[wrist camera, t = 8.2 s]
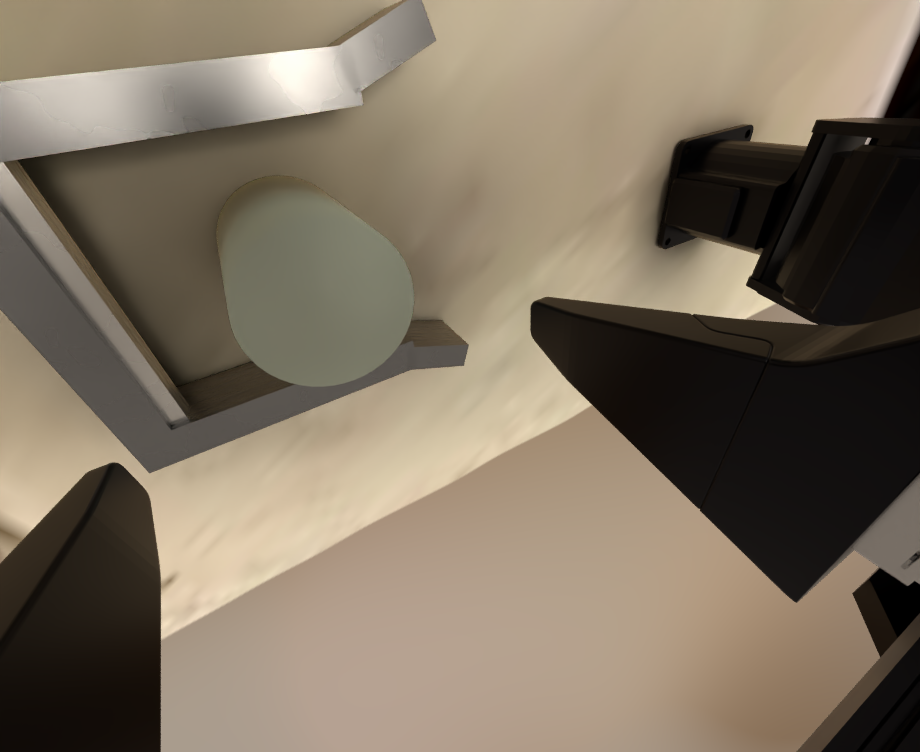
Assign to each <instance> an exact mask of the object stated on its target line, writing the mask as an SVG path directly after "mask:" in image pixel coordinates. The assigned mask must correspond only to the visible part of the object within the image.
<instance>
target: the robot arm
mask: <svg viewBox="0 0 920 752" xmlns="http://www.w3.org/2000/svg"><path fill="white" fill-rule="evenodd" d="M812 132H813V134H812V137H811V139H810V141H809V144H808V146H797V145H786V144H774V143H762V142H751V141H750V140H751V136H752V133H753V126H752V125H740V126H736V127H732V128H728V129H724V130H721V131H717V132H713V133H709V134H705V135H701V136H697V137H693V138H689V139H685V140H683V141H681V142H680V144H679V145H678V147H677V150H676V154H675V159H674V164H673V169H672V174H671V179H670V184H669V189H668V194H667V199H666V203H665V208H664V213H663V218H662V223H661V228H660V233H659V238H658V247H660V248H663V249H667V248H670V247H673V246H675V245H678V244H681V243H683V242H686V241H689V240H691V239H694V238H697V237H699V238H702V239H706V240H709V241H713V242H716V243H720V244H723V245H727V246H730V247H734V248H737V249H741V250H744V251H748V252H751V253H755V254H758V255H760V257H759V260H758V262H757V264H756V267H755V269H754V271H753V273H752V276H750V277H749V279H748V281H747V283H746V286H748V287H750V288H751V289H753V290H755V291H757V293H758V294H760V295H762V296H764V297H766V298H768V299H770V300H771V301H773V302H775V303H777V304H779V305H781V306H783V307H785V308H786V309H788V310H790V311H792V312H794V313H796V314H798V315H800V316H801V317H803V318H805V319H807V320H809V321H811V322H813V323H816V324H818V325H810V324H796V323H782V322H769V321H756V320H744V319H733V318H724V317H714V316H706V315H697V314H693V315H691V314H688V313H680V312H671V311H663V310H654V309H646V308H637V307H629V306H621V305H612V304H604V303H595V302H587V301H578V300H570V299H561V298H553V297H544V298H542V299H539V300H537V301H534V302H533V303H532V305H531V328H530V330H531V335H532V337H533V339H534V341H535V342H536V343H537V344H538V346H539V347H540V348H541V349H542V350H543V352H544V353H545V354H546V355H547V356H548V358H549V359H550V360H551V361H552V363H553V364H554V365H555V366H556V367H557V369H558V370H559V371H560V372H561V374H562V375H563V376H564V377H565V378H566V379H567V380H568V381H569V382H570V383H571V384H572V386H573V387H575V388H576V389H577V390H578V391H579V392H580V393H581V394H582V395H583V396H584V397H585V398H586V399H587V400H588V401H589V402H590V403H591V404H592V405H593V406H594V407H595V408H596V409H597V410H598V411H599V412H600V413H601V414H602V415H603V416H604V417H605V418H606V419H607V420H608V421H610V423H611V424H612V425H613V426H615V428H617V429H618V430H619V432H620V433H622V434H623V435H624V436H625V437H626V438H627V439H628V440H629V441H630V442H631V443H632V444H633V445H634V446H635V447H636V448H637V449H638V450H639V451H640V452H641V453H642V454H643V455H644V456H645V457H646V458H647V459H648V460H649V461H650V462H651V463H652V464H653V465H654V466H655V467H656V468H657V469H658V470H659V471H660V472H662V474H664V475H665V477H666V478H668V479H669V480H670V481H671V482H672V483H673V484H674V485H675V486H676V487H677V488H678V489H679V490H680V491H681V492H682V493H683V494H684V495H685V496H686V497H687V498H688V499H689V500H690V501H691V502H692V503H693V504H694V505H695V506H696V507H697V508H699V509H700V511H701V512H702V513H703V514H704V515H705V516H706V517H707V518H708V519H709V520H710V521H711V522H712V523H713V524H714V525H715V526H716V527H717V528H718V529H719V530H720V531H721V532H722V533H723V534H724V535H725V536H727V538H729V539H730V540H731V541H732V542H733V543H734V544H735V545H736V546H737V547H738V548H739V549H740V550H741V551H742V552H743V553H744V554H745V555H746V556H747V557H748V558H749V559H750V560H751V561H752V562H753V563H754V564H755V565H756V566H757V567H758V568H759V569H760V570H761V571H762V572H763V573H764V574H765V575H766V576H767V577H768V578H769V579H770V580H771V581H772V582H773V583H774V584H775V585H776V586H778V587H779V588H780V589H781V590H782V591H783V592H784V593H785V594H786V595H787V596H788V597H789V598H791V599H792V600H793V601H794V602H796V603H797V602H798V601H799V600H800V599H802V598H803V597H804V596H805V595H806V594H807V593H808V592H809V591H810V590H811V589H812V588H813V587H815V586H816V585H817V584H818V583H819V582H820V581H821V580H822V579H823V578H824V577H825V576H827V575H828V574H829V573H830V572H831V571H832V570H833V569H834V568H835V567H836V566H837V565H838V564H839V563H841V562H842V561H843V560H844V559H845V558H846V557H847V556H848V555H849V554H850V553H851V552H853V551H854V550H855V551H856V552H858V553H859V554H860V555H862V556H863V557H865V558H866V559H868V560H869V561H871V562H872V563H874V564H875V565H876V566H878V567H879V568H878V569H877V570H876V571H875V572H874V573H873V574H872V575H871V576H870V577H869V578H868V579H867V580H866V581H865V582H864V583H863V584H862V585H861V586H860V587H859V588H857V589H856V590H855V592H853V596H854V598H855V600H856V602H857V605H858V607H859V609H860V612H861V614H862V616H863V619H864V621H865V623H866V625H867V628H868V630H869V632H870V634H871V637H872V639H873V642H874V644H875V646H876V649H877V651H878V653H879V655H880V659H879V660H878V661H877V662H876V663H875V664H874V665H873V666H872V668H871V669H870V670H869V671H868V672H867V673H866V674H865V675H864V677H863V678H862V679H861V680H860V681H859V682H858V683H857V684H856V686H855V687H854V688H853V689H852V690H851V691H850V692H849V693H848V695H847V696H846V697H845V698H844V699H843V700H842V701H841V702H840V704H839V705H838V706H837V707H836V708H835V709H834V710H833V711H832V713H831V714H830V715H829V716H828V717H827V718H826V719H825V720H824V722H823V723H822V724H821V725H820V726H819V727H818V728H817V729H816V730H815V732H814V733H813V734H812V735H811V736H810V737H809V738H808V739H807V741H806V742H805V743H804V744H803V745H802V746H801V747H800V748H799V750H798V751H797V752H920V119H900V118H843V119H822V120H816V122H815V125H814V127H813V129H812ZM868 137H869V138H872V139H871V141H870V143H869V145H864V144H865V142H866V140H867V138H868ZM160 745H161V575H160V564H159V556H158V549H157V543H156V536H155V529H154V522H153V515H152V508H151V502H150V498H149V495H148V493H147V491H146V490H145V489H144V488H143V486H142V485H141V484H140V483H139V482H138V481H137V480H136V479H135V478H134V477H133V476H132V475H131V474H130V473H129V472H128V471H127V470H126V469H125V468H124V467H123V466H122V465H120V464H119V463H109V464H107V465H104V466H102V467H99V468H96V469H94V470H91V471H89V472H87V473H86V474H85V475H84V476H83V477H82V478H81V479H80V480H79V481H78V482H77V483H76V484H75V486H74V487H73V488H72V489H71V490H70V491H69V492H68V493H67V494H66V495H65V496H64V497H63V498H62V499H61V500H60V501H59V502H58V503H57V504H56V505H55V507H54V508H53V509H52V510H51V511H50V512H49V513H48V514H47V515H46V516H45V517H44V518H43V519H42V520H41V521H40V522H39V523H38V524H37V525H36V527H35V528H34V529H33V530H32V531H31V532H30V533H29V534H28V535H27V536H26V537H25V538H24V539H23V540H22V541H21V542H20V543H19V544H18V545H17V547H16V548H15V549H14V550H13V551H12V552H11V553H10V554H9V555H8V556H7V557H6V558H5V559H4V560H3V561H2V562H1V563H0V752H161V746H160Z"/></svg>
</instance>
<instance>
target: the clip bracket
mask: <svg viewBox="0 0 920 752" xmlns="http://www.w3.org/2000/svg"><path fill="white" fill-rule="evenodd" d="M435 41H436V38H435V35H434V33H433V30H432V27H431V25H430V22H429V19H428V16H427V14H426V11H425V8H424V5H423V3H422V0H402V1H400V2H398V3H395V4H393V5H391V6H389V7H386V8H384V9H383V10H381V11H380V12H378V13H377V14H375V15H374V16H372V17H371V18H369V19H368V20H366V21H365V22H363V23H362V24H360V25H359V26H357V27H355V28H354V29H352V30H351V31H349V32H348V33H346V34H345V35H343V36H342V37H340V38H339V39H337V40H336V41H334V42H333V43H331V44H330V45H328V46H327V47H323V48H314V49H304V50H295V51H285V52H276V53H266V54H257V55H248V56H238V57H229V58H219V59H210V60H200V61H191V62H181V63H172V64H163V65H153V66H144V67H134V68H125V69H115V70H106V71H97V72H87V73H78V74H68V75H59V76H49V77H40V78H30V79H21V80H12V81H2V82H0V309H1V311H2V312H3V313H4V314H5V315H6V316H7V317H8V318H9V319H10V320H11V322H12V323H13V324H14V325H15V326H16V327H17V328H18V329H19V330H20V331H21V333H22V334H23V335H24V336H25V337H26V338H27V339H28V340H29V341H30V342H31V344H32V345H33V346H34V347H35V348H36V349H37V350H38V351H39V352H40V353H41V355H42V356H43V357H44V358H45V359H46V360H47V361H48V362H49V363H50V364H51V366H52V367H53V368H54V369H55V370H56V371H57V372H58V373H59V374H60V375H61V377H62V378H63V379H64V380H65V381H66V382H67V383H68V384H69V385H70V386H71V388H72V389H73V390H74V391H75V392H76V393H77V394H78V395H79V396H80V397H81V398H82V400H83V401H84V402H85V403H86V404H87V405H88V406H89V407H90V408H91V409H92V411H93V412H94V413H95V414H96V415H97V416H98V417H99V418H100V419H101V420H102V422H103V423H104V424H105V425H106V426H107V427H108V428H109V429H110V430H111V431H112V433H113V434H114V435H115V436H116V437H117V438H118V439H119V440H120V441H121V442H122V444H123V445H124V446H125V447H126V448H127V449H128V450H129V451H130V452H131V453H132V455H133V456H134V457H135V458H136V459H137V460H138V461H139V462H140V463H141V464H142V466H143V467H144V468H145V469H146V470H147V471H148V472H149V473H151V472H154V471H156V470H159V469H161V468H164V467H166V466H169V465H172V464H174V463H177V462H179V461H182V460H184V459H187V458H189V457H192V456H194V455H197V454H199V453H202V452H204V451H207V450H209V449H212V448H214V447H217V446H219V445H222V444H225V443H227V442H230V441H232V440H235V439H237V438H240V437H242V436H245V435H247V434H250V433H252V432H255V431H257V430H260V429H262V428H265V427H267V426H270V425H272V424H275V423H277V422H280V421H283V420H285V419H288V418H290V417H293V416H295V415H298V414H300V413H303V412H305V411H308V410H310V409H313V408H315V407H318V406H320V405H323V404H325V403H328V402H330V401H333V400H336V399H338V398H341V397H343V396H346V395H348V394H351V393H353V392H356V391H358V390H361V389H363V388H366V387H368V386H371V385H373V384H376V383H378V382H381V381H383V380H386V379H389V378H391V377H394V376H396V375H399V374H401V373H404V372H406V371H409V370H412V369H426V368H439V367H452V366H464V362H465V358H466V354H467V350H468V346H469V345H468V344H467V343H466V342H465V341H464V340H463V339H462V338H461V337H460V336H459V335H457V334H456V333H455V332H454V331H453V330H452V329H451V328H450V327H449V326H448V325H446V324H445V323H444V322H443V321H442V320H434V321H411V322H410V325H409V328H408V330H407V333H406V335H405V336H404V338H403V340H402V342H401V343H400V345H399V346H398V348H397V349H396V350H395V351H394V353H393V354H392V355H391V356H390V357H389V358H388V359H387V360H386V361H385V362H384V363H383V364H381V365H380V366H379V367H377V368H376V369H375V370H373V371H371V372H370V373H368V374H366V375H365V376H362V377H360V378H358V379H356V380H353V381H350V382H347V383H343V384H339V385H334V386H325V387H311V386H302V385H297V384H293V383H289V382H286V381H283V380H281V379H278V378H276V377H274V376H272V375H270V374H268V373H267V372H265V371H264V370H263V369H261V368H260V367H258V366H257V365H256V364H255V363H254V362H250V363H247V364H244V365H241V366H238V367H235V368H232V369H229V370H226V371H223V372H221V373H218V374H215V375H212V376H209V377H206V378H203V379H200V380H197V381H194V382H191V383H188V384H185V385H183V386H180V387H176V386H175V385H174V383H173V382H172V380H171V379H170V377H169V376H168V375H167V373H166V372H165V370H164V369H163V367H162V366H161V365H160V363H159V362H158V360H157V359H156V357H155V356H154V355H153V353H152V352H151V350H150V349H149V347H148V346H147V345H146V343H145V342H144V340H143V339H142V337H141V336H140V335H139V333H138V332H137V330H136V329H135V327H134V326H133V325H132V323H131V322H130V320H129V319H128V317H127V316H126V315H125V313H124V312H123V310H122V309H121V307H120V306H119V305H118V303H117V302H116V300H115V299H114V297H113V296H112V295H111V293H110V292H109V290H108V289H107V287H106V286H105V285H104V283H103V282H102V280H101V279H100V277H99V276H98V274H97V273H96V272H95V270H94V269H93V267H92V266H91V264H90V263H89V262H88V260H87V259H86V257H85V256H84V254H83V253H82V252H81V250H80V249H79V247H78V246H77V244H76V243H75V242H74V240H73V239H72V237H71V236H70V234H69V233H68V232H67V230H66V229H65V227H64V226H63V224H62V223H61V222H60V220H59V219H58V217H57V216H56V214H55V213H54V212H53V210H52V209H51V207H50V206H49V204H48V203H47V202H46V200H45V199H44V197H43V196H42V194H41V193H40V192H39V190H38V189H37V187H36V186H35V184H34V183H33V182H32V180H31V179H30V177H29V176H28V174H27V173H26V172H25V170H24V169H23V167H22V166H21V164H20V163H19V162H18V160H19V159H25V158H32V157H38V156H44V155H51V154H57V153H63V152H70V151H76V150H82V149H89V148H95V147H101V146H108V145H114V144H120V143H127V142H133V141H139V140H146V139H152V138H158V137H165V136H171V135H177V134H184V133H190V132H196V131H203V130H209V129H215V128H222V127H228V126H234V125H241V124H247V123H253V122H260V121H266V120H272V119H279V118H285V117H291V116H298V115H304V114H310V113H317V112H323V111H329V110H336V109H342V108H348V107H355V106H361V105H364V104H363V99H362V94H361V91H362V90H364V89H365V88H367V87H368V86H369V85H371V84H372V83H374V82H375V81H377V80H378V79H380V78H381V77H383V76H384V75H386V74H387V73H389V72H390V71H392V70H393V69H395V68H396V67H398V66H399V65H401V64H402V63H403V62H405V61H406V60H408V59H409V58H411V57H412V56H414V55H415V54H417V53H418V52H420V51H421V50H423V49H424V48H426V47H427V46H429V45H430V44H432V43H433V42H435Z"/></svg>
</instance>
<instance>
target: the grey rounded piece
mask: <svg viewBox="0 0 920 752" xmlns="http://www.w3.org/2000/svg"><path fill="white" fill-rule="evenodd" d="M216 237H217V246H218V253H219V259H220V265H221V272H222V278H223V284H224V291H225V297H226V303H227V310H228V316H229V321H230V324H231V328H232V331H233V333H234V336H235V338H236V340H237V342H238V344H239V345H240V347H241V348H242V350H243V351H244V352H245V354H246V355H247V356H248V357H249V358H250V359H251V360H252V361H253V362H254V363H255V364H256V365H257V366H258V367H260V368H261V369H263V370H264V371H265V372H267V373H268V374H270V375H272V376H274V377H276V378H278V379H281V380H283V381H286V382H289V383H293V384H297V385H302V386H311V387H325V386H334V385H339V384H343V383H347V382H350V381H353V380H356V379H358V378H360V377H362V376H365V375H366V374H368V373H370V372H371V371H373V370H375V369H376V368H377V367H379V366H380V365H381V364H383V363H384V362H385V361H386V360H387V359H388V358H389V357H390V356H391V355H392V354H393V353H394V351H395V350H396V349H397V348H398V346H399V345H400V343H401V342H402V340H403V338H404V336H405V335H406V333H407V330H408V328H409V325H410V322H411V318H412V315H413V308H414V289H413V282H412V279H411V275H410V272H409V269H408V267H407V265H406V263H405V261H404V259H403V257H402V256H401V254H400V253H399V252H398V250H397V249H396V248H395V246H394V245H393V244H392V243H391V242H390V241H389V240H388V239H387V238H386V237H384V236H383V235H382V234H380V233H379V232H377V231H376V230H375V229H373V228H372V227H371V226H369V225H368V224H367V223H365V222H364V221H363V220H361V219H360V218H359V217H357V216H356V215H355V214H353V213H352V212H351V211H349V210H348V209H347V208H345V207H344V206H343V205H341V204H340V203H339V202H337V201H336V200H335V199H333V198H332V197H331V196H329V195H328V194H327V193H325V192H324V191H323V190H321V189H320V188H318V187H317V186H315V185H313V184H311V183H309V182H307V181H304V180H302V179H298V178H294V177H289V176H268V177H262V178H259V179H255V180H253V181H251V182H248V183H246V184H245V185H243V186H242V187H240V188H239V189H238V190H236V191H235V192H234V193H233V194H232V195H231V196H230V198H229V199H228V200H227V201H226V203H225V205H224V206H223V208H222V210H221V213H220V215H219V218H218V223H217V233H216Z"/></svg>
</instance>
